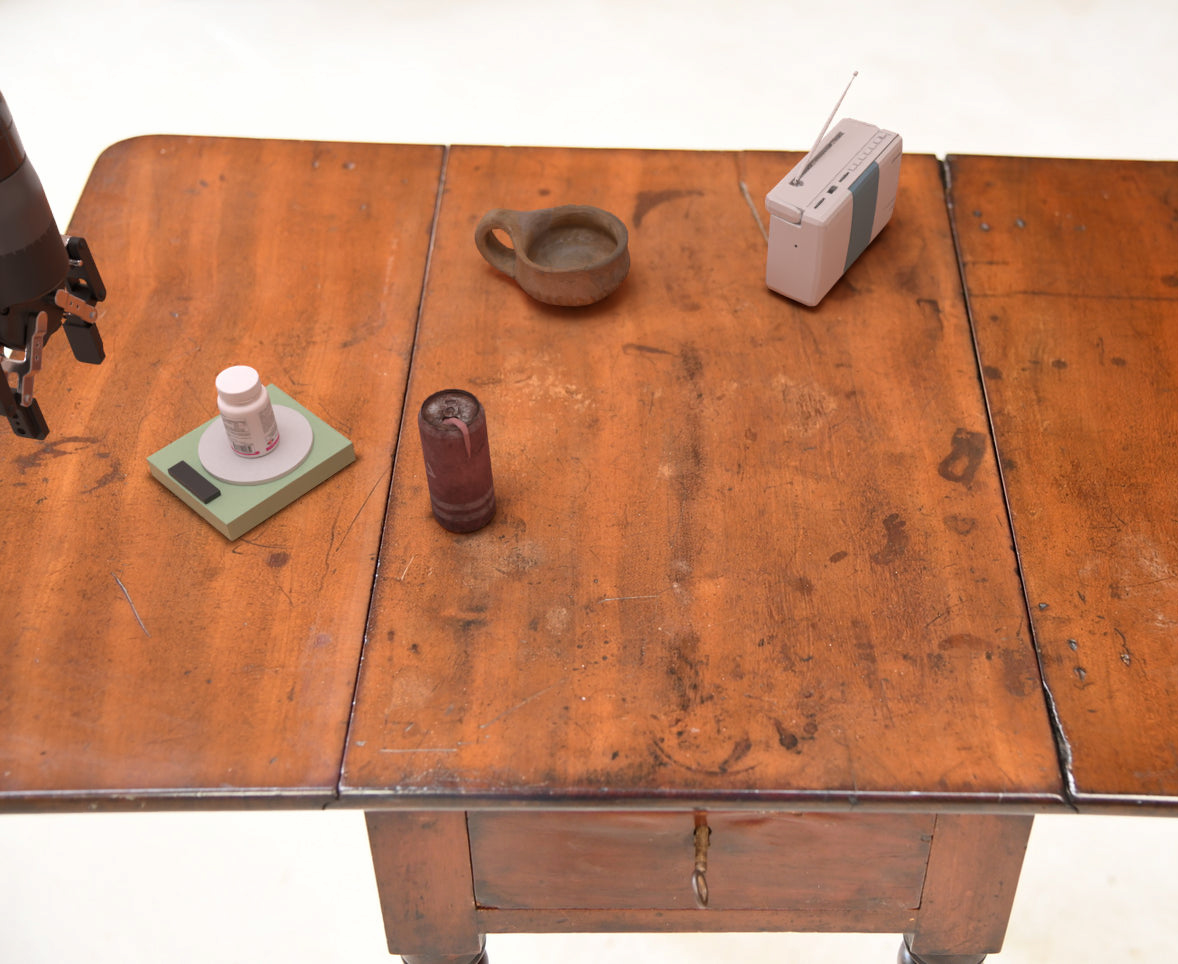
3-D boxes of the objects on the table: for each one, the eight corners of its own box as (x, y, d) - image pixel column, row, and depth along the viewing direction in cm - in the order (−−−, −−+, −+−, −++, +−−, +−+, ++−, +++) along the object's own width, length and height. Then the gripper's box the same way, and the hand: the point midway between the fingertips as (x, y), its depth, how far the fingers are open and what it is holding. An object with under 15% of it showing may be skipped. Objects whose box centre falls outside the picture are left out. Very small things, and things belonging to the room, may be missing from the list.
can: (458, 546, 134) (443, 442, 124) (421, 509, 137) (403, 404, 127) (510, 516, 137) (499, 412, 127) (472, 480, 140) (458, 376, 130)
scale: (232, 542, 133) (224, 519, 131) (152, 475, 138) (143, 453, 136) (356, 459, 141) (351, 437, 139) (276, 400, 147) (270, 377, 144)
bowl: (464, 318, 155) (459, 232, 150) (485, 272, 167) (481, 191, 162) (625, 325, 155) (625, 239, 150) (634, 278, 167) (634, 197, 162)
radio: (816, 317, 160) (833, 168, 145) (754, 292, 162) (764, 144, 148) (894, 226, 172) (916, 81, 158) (835, 205, 175) (851, 60, 161)
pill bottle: (268, 419, 140) (251, 355, 134) (288, 446, 138) (271, 383, 132) (222, 437, 138) (203, 374, 132) (242, 466, 136) (223, 402, 130)
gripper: (-4, 155, 99) (65, 331, 111) (-124, 276, 89) (-34, 455, 101) (95, 169, 98) (154, 345, 110) (-14, 293, 89) (63, 471, 100)
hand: (64, 397), depth 105 cm, fingers open, 8 cm apart
